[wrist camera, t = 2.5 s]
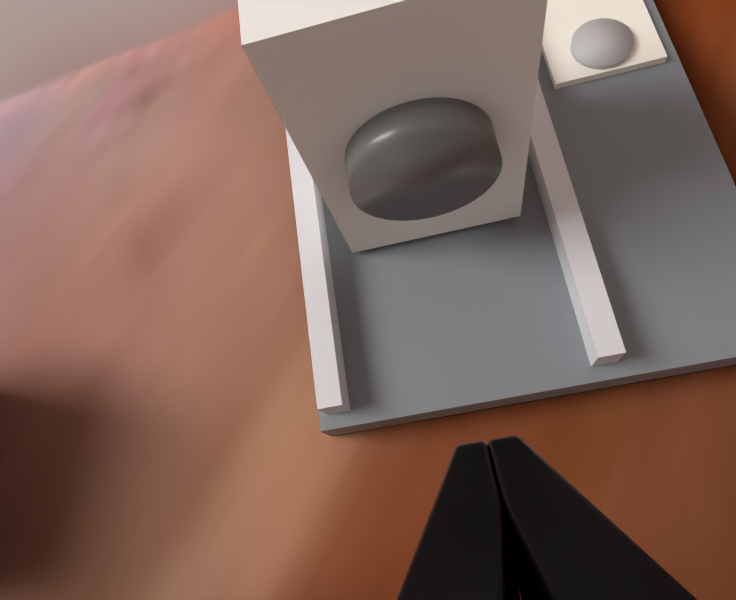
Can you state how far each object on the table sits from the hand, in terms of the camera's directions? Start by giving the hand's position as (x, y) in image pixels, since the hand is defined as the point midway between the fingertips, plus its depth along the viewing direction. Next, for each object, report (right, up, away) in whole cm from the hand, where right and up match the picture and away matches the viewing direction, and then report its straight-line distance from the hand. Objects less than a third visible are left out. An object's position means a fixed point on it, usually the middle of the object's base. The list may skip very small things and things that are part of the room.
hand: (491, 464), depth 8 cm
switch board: (+3, +7, +15) cm, 16 cm away
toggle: (0, +6, +13) cm, 14 cm away
